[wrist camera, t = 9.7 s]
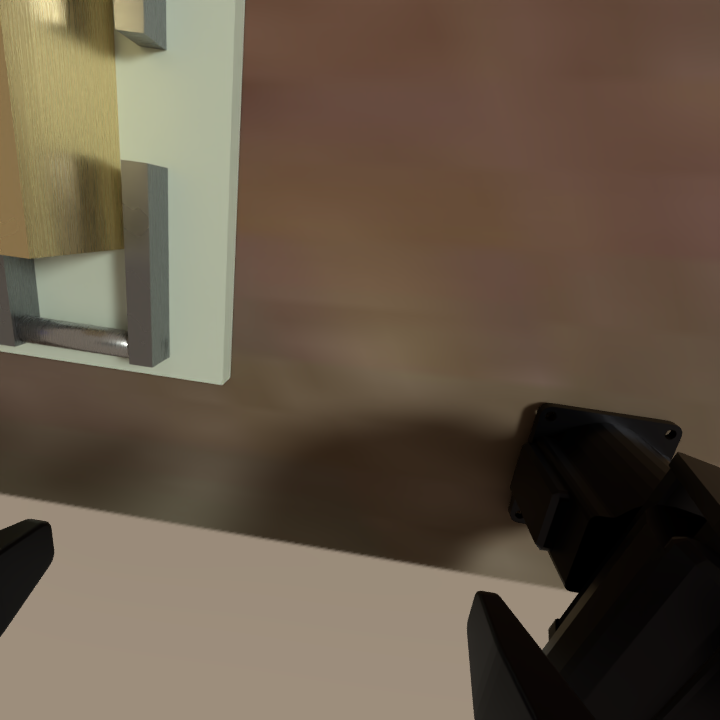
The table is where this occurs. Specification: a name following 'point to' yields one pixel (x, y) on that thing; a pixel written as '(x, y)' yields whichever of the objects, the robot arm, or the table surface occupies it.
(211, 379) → the base board
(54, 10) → the link bar
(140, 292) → the chain end links
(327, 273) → the table surface
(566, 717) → the robot arm
